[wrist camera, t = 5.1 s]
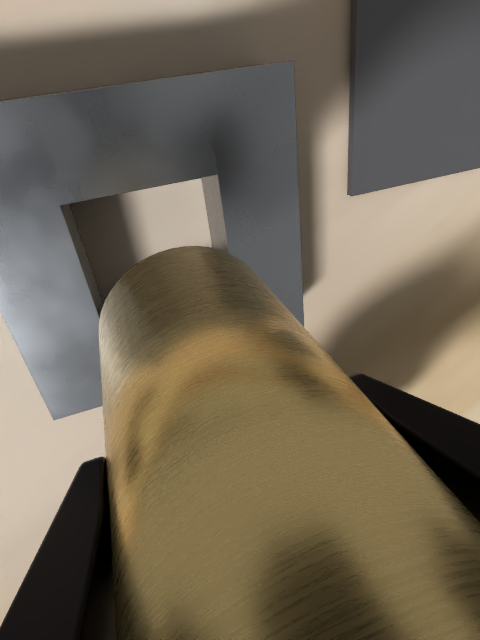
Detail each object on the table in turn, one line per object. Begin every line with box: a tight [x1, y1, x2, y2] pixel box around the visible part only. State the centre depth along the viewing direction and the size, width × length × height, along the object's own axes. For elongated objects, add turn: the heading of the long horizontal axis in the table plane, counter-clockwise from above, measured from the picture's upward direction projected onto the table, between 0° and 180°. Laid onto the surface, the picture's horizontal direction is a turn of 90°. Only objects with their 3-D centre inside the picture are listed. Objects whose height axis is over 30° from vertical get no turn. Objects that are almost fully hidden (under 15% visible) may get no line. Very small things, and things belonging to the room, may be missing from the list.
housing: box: [0, 61, 304, 420], centre depth 17 cm, size 12×12×3 cm
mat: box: [347, 0, 480, 196], centre depth 19 cm, size 8×8×1 cm
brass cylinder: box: [98, 246, 480, 640], centre depth 8 cm, size 5×5×10 cm
